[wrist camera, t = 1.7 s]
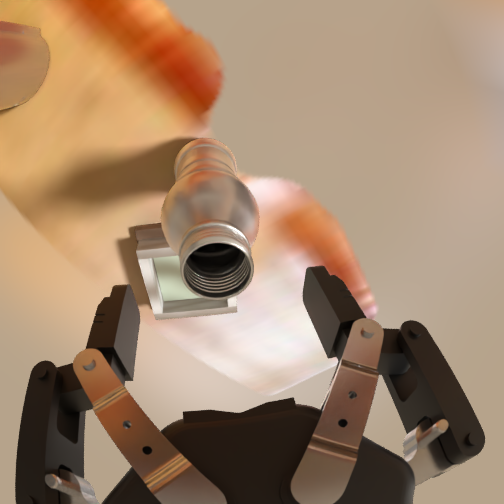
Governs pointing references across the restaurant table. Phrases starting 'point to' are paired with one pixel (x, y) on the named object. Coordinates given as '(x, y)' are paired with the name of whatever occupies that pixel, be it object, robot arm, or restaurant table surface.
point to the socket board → (171, 280)
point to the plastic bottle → (210, 221)
